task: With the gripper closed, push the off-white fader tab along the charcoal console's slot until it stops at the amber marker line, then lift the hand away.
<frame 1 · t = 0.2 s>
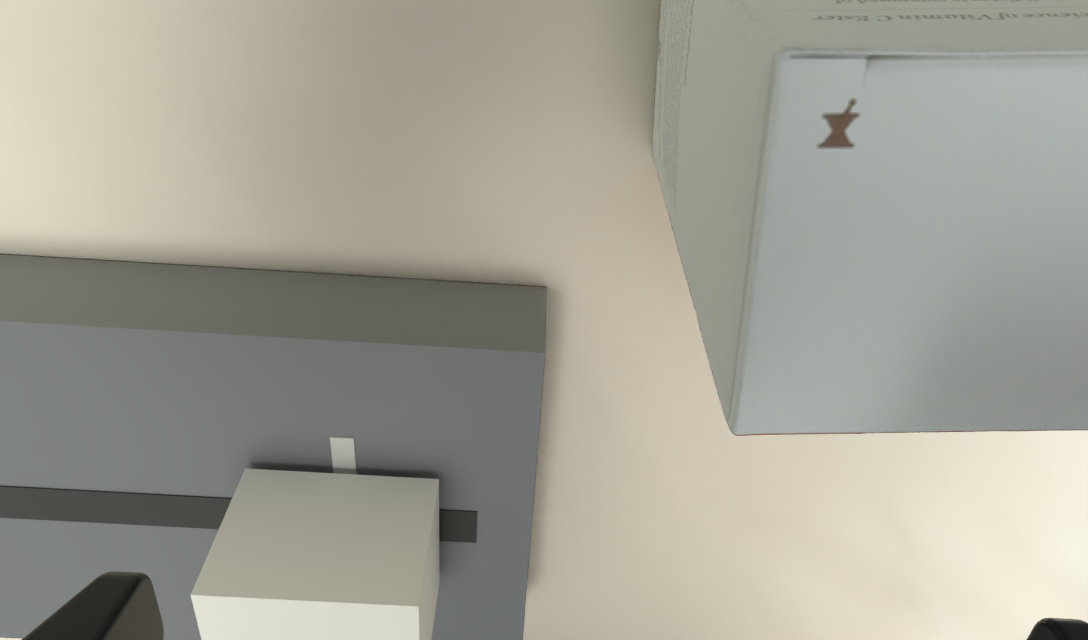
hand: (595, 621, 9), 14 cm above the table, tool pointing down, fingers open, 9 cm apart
small box: (831, 33, 20), on the table
console: (68, 429, 26), on the table
fader tab: (331, 587, 22), point 5 cm above the table, slide at -9.0 cm
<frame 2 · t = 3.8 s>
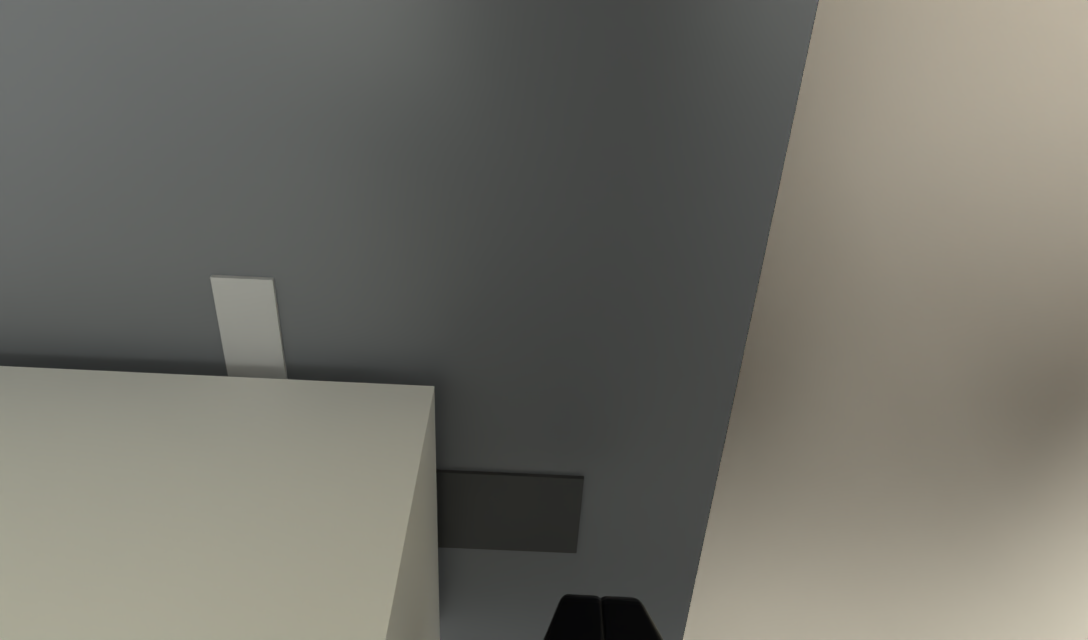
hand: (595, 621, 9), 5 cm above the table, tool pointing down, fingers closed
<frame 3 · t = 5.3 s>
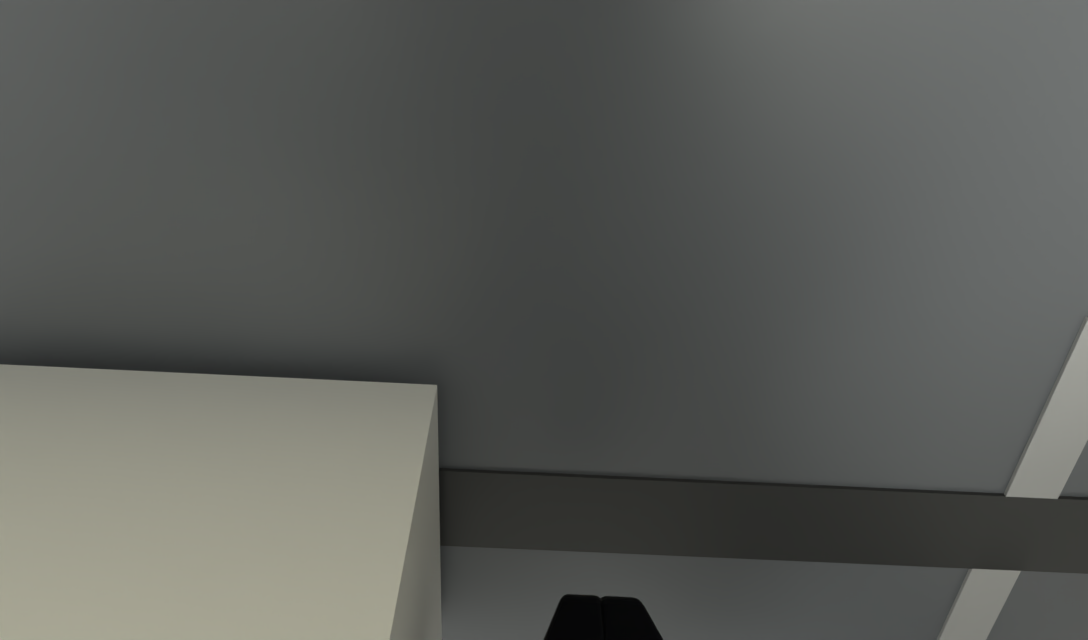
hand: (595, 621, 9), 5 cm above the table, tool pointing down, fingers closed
console: (307, 350, 13), on the table
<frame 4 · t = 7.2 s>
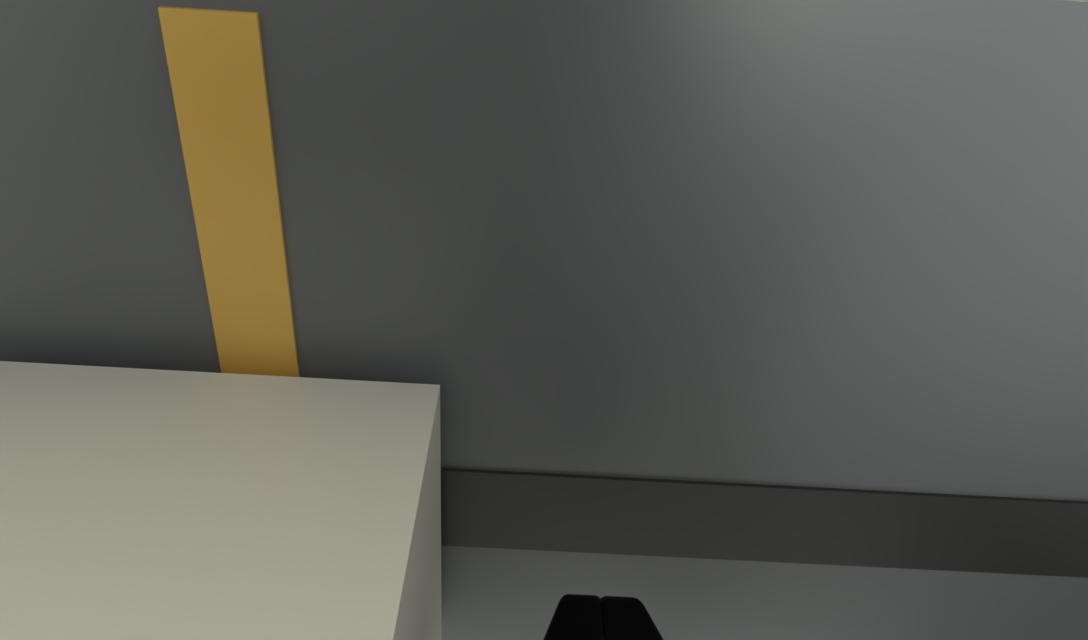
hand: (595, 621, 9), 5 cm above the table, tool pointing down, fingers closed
console: (811, 377, 13), on the table
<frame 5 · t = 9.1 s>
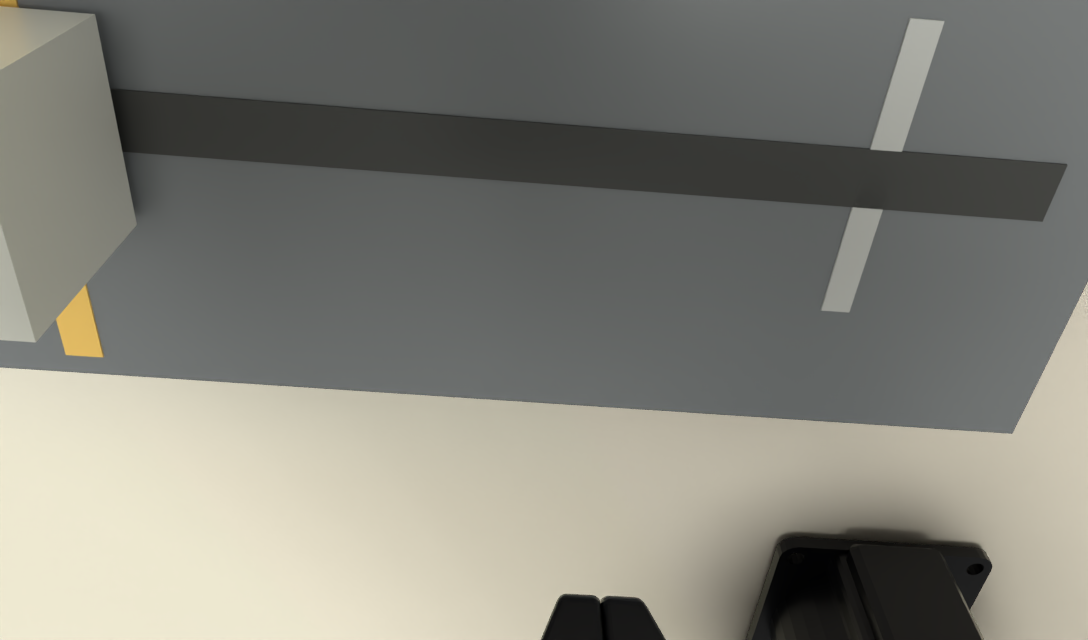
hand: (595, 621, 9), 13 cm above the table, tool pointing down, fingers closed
console: (423, 89, 19), on the table
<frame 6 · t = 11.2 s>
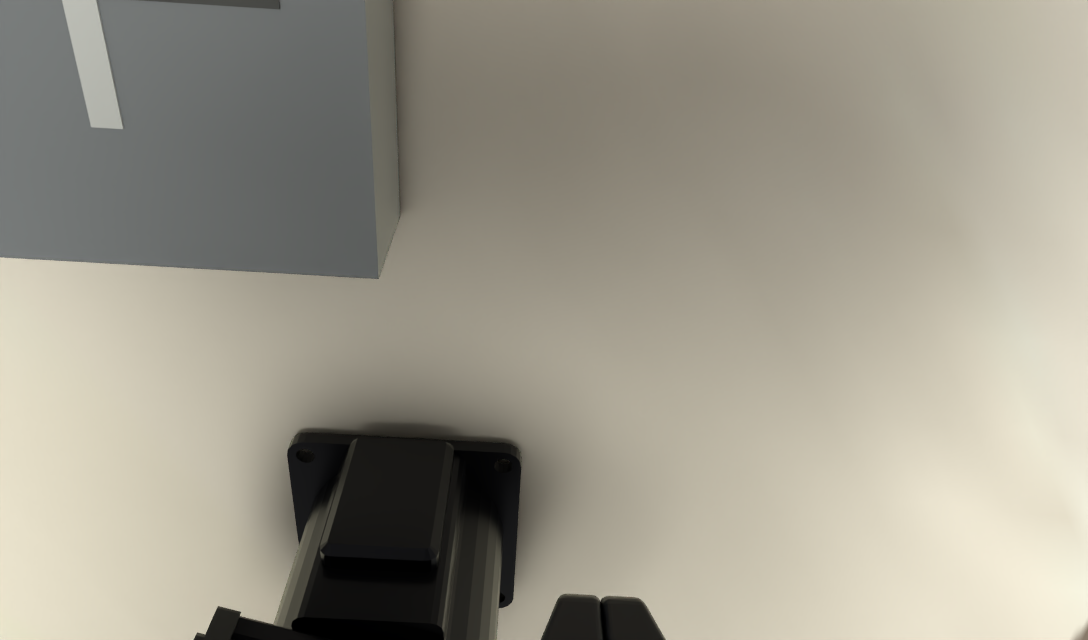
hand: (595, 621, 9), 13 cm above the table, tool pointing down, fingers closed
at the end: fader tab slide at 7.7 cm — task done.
